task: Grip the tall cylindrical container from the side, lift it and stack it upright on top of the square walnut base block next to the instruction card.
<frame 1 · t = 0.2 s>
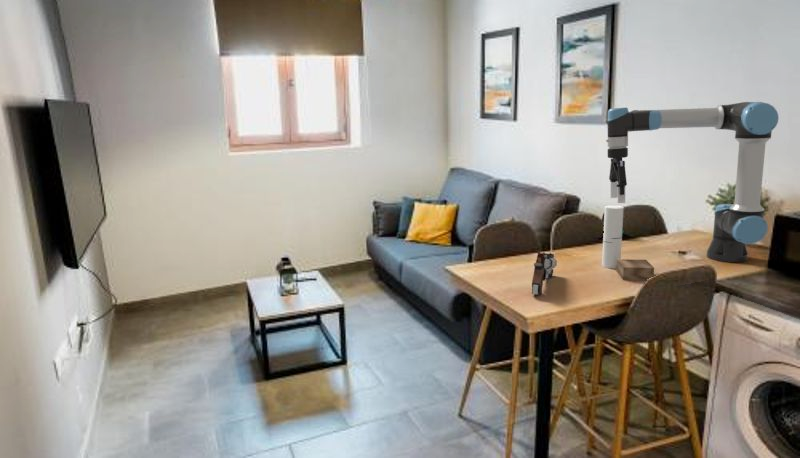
hand: (617, 200, 223), 28 cm above the table, tool pointing down, fingers open, 13 cm apart
instruction card: (637, 266, 226), on the table
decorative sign: (609, 237, 278), on the table
base block: (634, 275, 216), on the table
toy gun: (543, 286, 209), on the table
cylindrical container: (611, 266, 229), on the table
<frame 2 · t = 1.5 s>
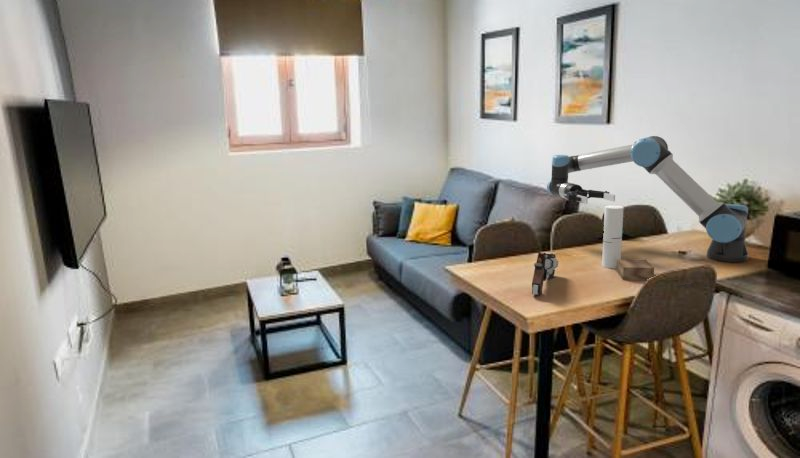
hand: (600, 199, 231), 27 cm above the table, tool horizontal, fingers open, 13 cm apart
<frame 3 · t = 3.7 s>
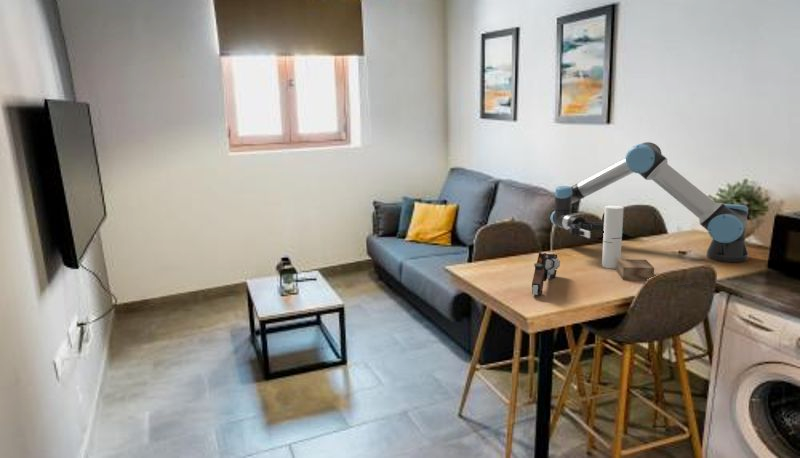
hand: (603, 233, 231), 13 cm above the table, tool horizontal, fingers open, 13 cm apart
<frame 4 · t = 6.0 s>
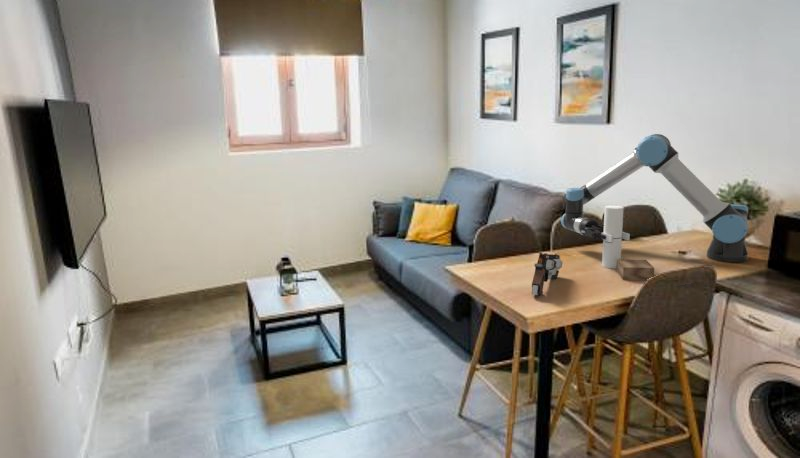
hand: (620, 238, 222), 13 cm above the table, tool horizontal, fingers closed on cylindrical container, 7 cm apart
cylindrical container: (611, 266, 229), on the table, touching gripper
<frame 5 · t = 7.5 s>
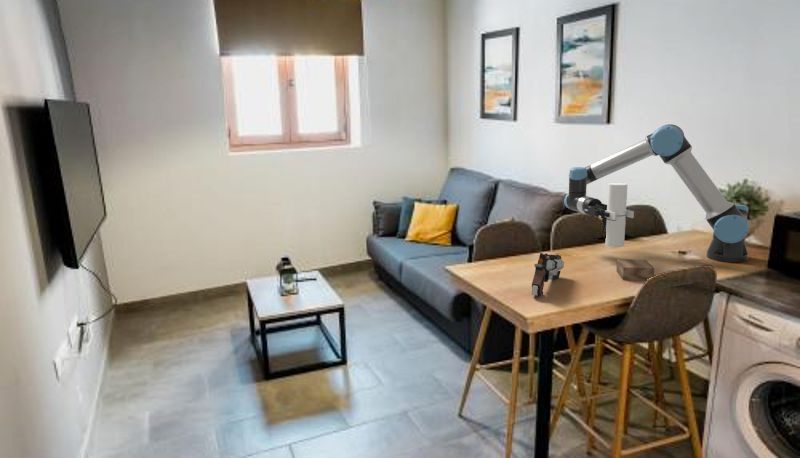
hand: (624, 215, 217), 23 cm above the table, tool horizontal, fingers closed on cylindrical container, 7 cm apart
cylindrical container: (614, 245, 225), point 10 cm above the table, touching gripper
when the fingers open (19 cm above the table, at t = 9.5 s): cylindrical container stays where it is, resting on base block.
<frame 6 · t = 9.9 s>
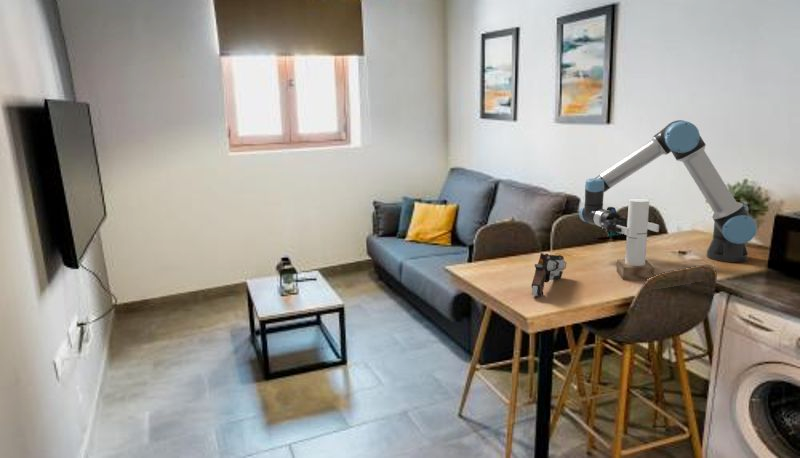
hand: (643, 230, 208), 19 cm above the table, tool horizontal, fingers open, 13 cm apart
cylindrical container: (634, 263, 215), point 5 cm above the table, touching base block
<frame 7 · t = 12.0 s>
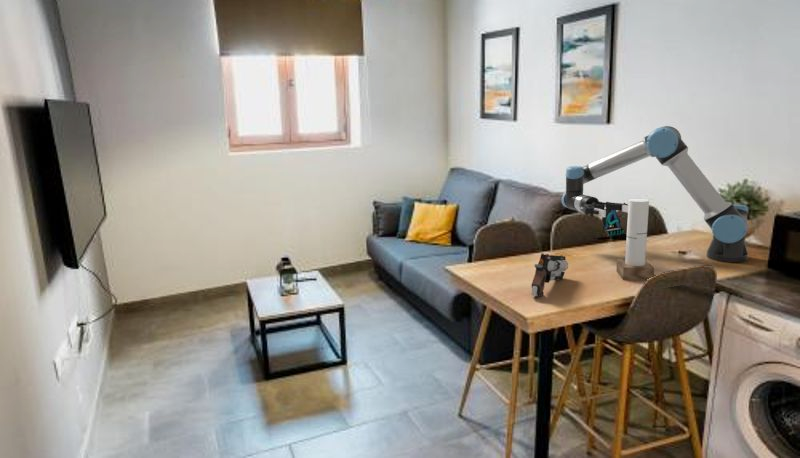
hand: (619, 212, 221), 23 cm above the table, tool horizontal, fingers open, 13 cm apart
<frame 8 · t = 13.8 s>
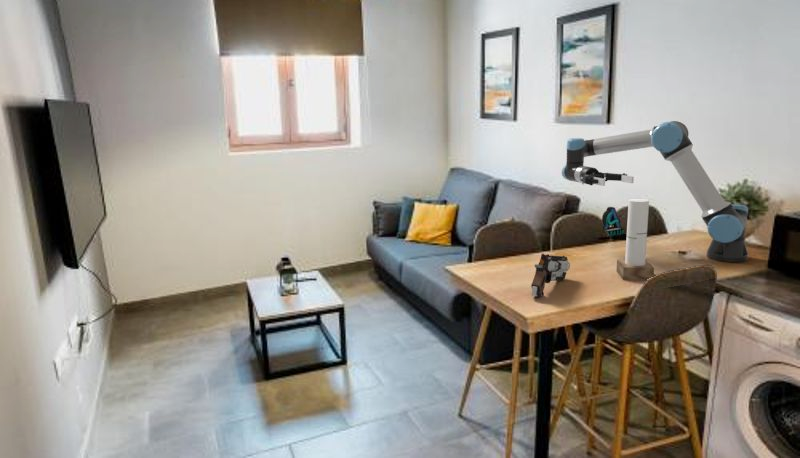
hand: (618, 181, 224), 35 cm above the table, tool horizontal, fingers open, 13 cm apart
at the end: cylindrical container inside the target area on the base block (0.1 cm from its centre), point 4.8 cm above the base block's base; cylindrical container tilted 0°; the gripper is holding nothing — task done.
